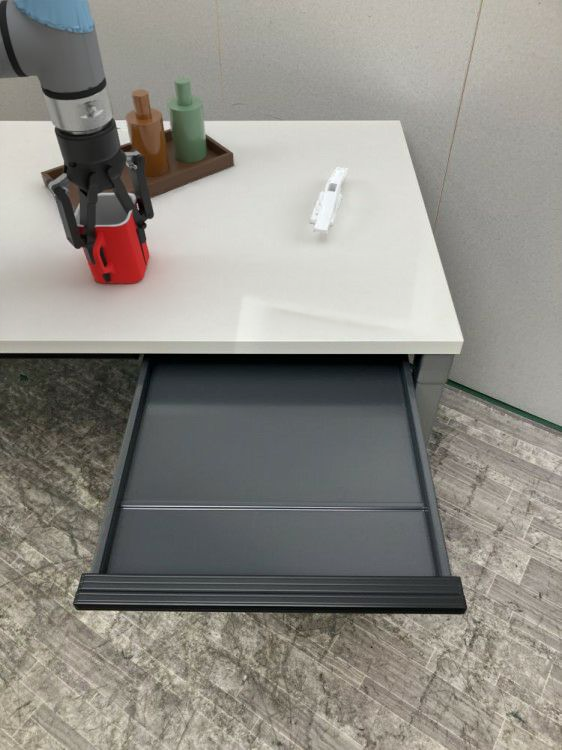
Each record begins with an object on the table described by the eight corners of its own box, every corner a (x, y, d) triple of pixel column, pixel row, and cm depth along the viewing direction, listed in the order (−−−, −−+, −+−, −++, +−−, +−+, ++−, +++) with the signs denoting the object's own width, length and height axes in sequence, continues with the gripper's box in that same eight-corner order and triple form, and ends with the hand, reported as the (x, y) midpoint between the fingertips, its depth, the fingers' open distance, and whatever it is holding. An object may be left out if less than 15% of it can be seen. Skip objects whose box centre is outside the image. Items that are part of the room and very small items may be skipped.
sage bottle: (185, 166, 112) (176, 91, 102) (168, 152, 116) (157, 78, 105) (213, 155, 115) (207, 81, 104) (195, 142, 118) (187, 69, 108)
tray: (82, 224, 101) (78, 211, 99) (44, 185, 109) (40, 172, 107) (234, 165, 114) (233, 153, 112) (190, 134, 122) (189, 122, 120)
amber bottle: (146, 180, 109) (132, 104, 98) (129, 166, 112) (114, 91, 102) (176, 169, 111) (165, 94, 101) (158, 156, 115) (146, 81, 104)
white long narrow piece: (302, 241, 98) (303, 212, 94) (326, 179, 111) (327, 151, 107) (326, 245, 97) (328, 216, 93) (347, 182, 110) (349, 154, 106)
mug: (103, 250, 96) (83, 193, 88) (153, 250, 95) (138, 192, 87) (83, 301, 88) (60, 243, 80) (138, 301, 87) (120, 243, 79)
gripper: (25, 157, 68) (78, 307, 85) (163, 111, 75) (186, 257, 93) (0, 132, 72) (56, 280, 89) (134, 90, 79) (161, 235, 97)
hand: (122, 268), depth 91 cm, fingers open, 5 cm apart
